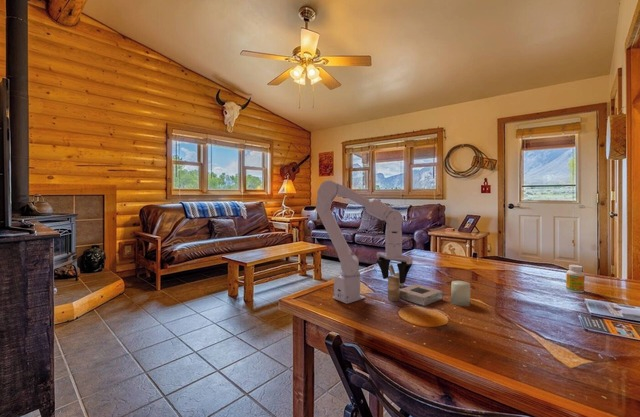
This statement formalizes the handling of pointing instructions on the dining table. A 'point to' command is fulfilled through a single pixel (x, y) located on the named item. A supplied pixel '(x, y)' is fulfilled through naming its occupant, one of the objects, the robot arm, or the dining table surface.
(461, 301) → the pale green rounded block
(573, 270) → the supplement bottle
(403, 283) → the lighter
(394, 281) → the oak peg
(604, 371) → the dining table surface
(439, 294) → the beige square frame
